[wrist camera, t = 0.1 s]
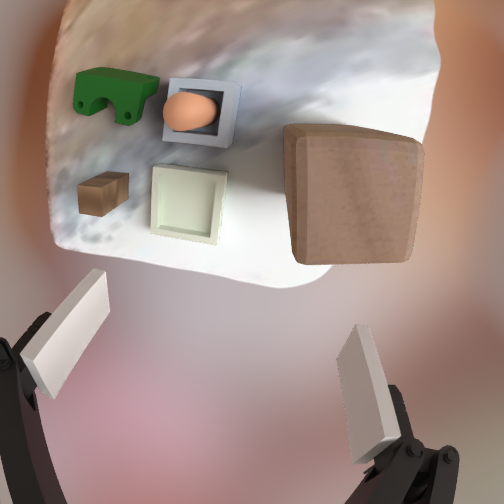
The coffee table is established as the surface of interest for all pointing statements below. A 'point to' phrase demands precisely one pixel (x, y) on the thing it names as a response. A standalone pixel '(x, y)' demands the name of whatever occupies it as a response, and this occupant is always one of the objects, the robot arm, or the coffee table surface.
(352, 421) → the robot arm
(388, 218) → the wooden block
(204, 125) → the peach rounded rod
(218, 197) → the tray
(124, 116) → the clamp
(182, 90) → the socket
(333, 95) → the coffee table surface
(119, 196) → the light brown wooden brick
